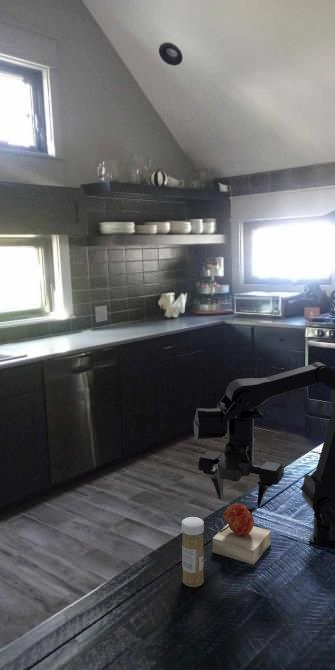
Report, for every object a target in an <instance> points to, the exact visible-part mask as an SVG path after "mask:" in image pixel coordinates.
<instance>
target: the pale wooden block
mask: <svg viewBox="0 0 335 670" xmlns="http://www.w3.org/2000/svg"><path fill="white" fill-rule="evenodd" d="M227 526H229V525H228V523H226V525H225V526H224V527H223V528H222V529H221V530H223V529H225V528H226V527H227ZM271 542H272V530H270V529H266V528H262V527H259V526H256V525H254V526H253V528H252V530H251V532H250V533H249V534H247V535H245V536H242V537H238V536H237V535H236V534H235V533H234V532H233V531H232V530H231V529H230V527H229V528H227V529H226V530H224V531H222V532H221V533H220V531H219V532H217V534H215V535H214V536H213V537H212V553H214V554H217V555H221V556H223V557H228V558H230V559H234V560H236V561H240V562H242V563H243V562H244V563H247V564H249V565H254V566H255V563H257V562H258V560H259V559H261V557H262V555H263V554H264V553H265V551H266V550H267V549H268V548H269V547H270V546H271V545H272V544H271Z"/></svg>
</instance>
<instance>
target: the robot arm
mask: <svg viewBox="0 0 335 670" xmlns="http://www.w3.org/2000/svg"><path fill="white" fill-rule="evenodd" d="M317 384H324V385H325V386H326V387H328V388H330V389H331V393H330V403H331V416H330V419H329V423H328V425H327V426H328V427H327V430H326V434H325V437H324V441H323V443H322V448H321V451H320V455H319V458H318V461H317V465H316V468H315V470H314V471H313V472H312V473H311V474H310V475H309V473H306V474H304V477H303V483H302V486H301V487H300V491H301V492H302V493H301V496H302V498H303V500H304V501H305V503H306V504H307V505H308V507H309V508H310V509H311V510H312V511H313V527H312V528H313V530H312V533H311V535H310V537H309V538H308V543H310V544H314V545H317V546H323V547H326V548H327V547H328V548H330V549H335V371H334V370H333V369H331V367H329V366H327V365H326V364H324V363H322V362H319V361H315V362H313V363H311V364H307V365H305V366H302V367H298V368H295V369H291V370H287V371H284V372H281V373H278V374H273V375H269V376H266V377H261V378H258V377H249V378H248V377H247V378H246V377H245V378H237V379H234V380H232V381H230V382H229V383H228V385H227V387H226V390H225V394H224V395H223V397H222V398H221V399H220V401H219V402H218V403H217V405H216V408H203V407H202V408H201V407H200V408H198V407H197V408H196V409H195V410H196V411H195V415H194V419H193V434H194V437H195V440H196V441H202V440H204V441H205V440H219V439H223V438H224V437H226V434H227V442H226V443H225V447H224V452H223V454H222V453H221V452H217V451H211V450H208V451H206V452H205V453H204V454H203V455H201V456H200V457H199V458H198V460H197V470H198V471H202V474H204V475H207V476H208V477H210V479H211V481H212V484H213V487H214V489H215V491H216V492H215V493H216V494H217V497H218V499H219V500H222V498H223V496H224V480H227V481H232V482H234V483H236V482H239V481H240V480H241V478H243V477H249V476H250V474H255V475H258V479H259V481H258V482H257V485H258V493H257V501H256V504H257V508H260V507H261V505H262V503H263V501H264V498H265V496H266V494H267V491H268V490H269V488H270V487H272V486H273V485H275V486H276V485H278V484H279V483H280V482H281V480H282V478H284V476H285V468H284V466H283V464H282V463H277V462H272V461H266V462H264V464H262V465H259V464H254V462H255V459H256V457H255V455H254V445H255V444H256V439H255V437H254V435H255V434H254V431H255V430H254V429H255V427H254V426H255V425H254V424H255V419H264V415H263V414H262V413H261V412H260V411H259V410H258V408H257V407H258V406H261V405H262V404H264V403H265V402H266V401H267V400H269V399H271V398H273V397H277V396H280V395H283V394H287V393H290V392H293V391H297V390H301V389H304V388H307V387H311V386H314V385H317Z"/></svg>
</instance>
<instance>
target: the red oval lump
mask: <svg viewBox="0 0 335 670" xmlns="http://www.w3.org/2000/svg"><path fill="white" fill-rule="evenodd" d="M256 510H257V508H256V507H252V508H248V507H247V506H246V505H244V504H242V503H239V502H238V503H233V504H230V505H228V507H227V508H226V509H225V511H224V512H223V515H222V517H223V519H224V522H226V524H228V525H229V526H227V527H226V528H225V529H223V528H222V529H223V530H222V529H221V530H219V532H220V533H221V532H222V531H224V530H226V529H227V528H229V527H230V529H231V530H232V531H233V532H234V533H235V534H236V535H237V536H238V537H242V536H245V535H247V534H249V533H250V532H251V530H252V528H253V526H255V519H254V515H253V512H255V511H256Z"/></svg>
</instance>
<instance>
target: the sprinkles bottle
mask: <svg viewBox="0 0 335 670" xmlns="http://www.w3.org/2000/svg"><path fill="white" fill-rule="evenodd" d="M204 523H205V522H204V520H203V519H201V518H199V517H196V516H189V517H185V518H184V519H182V521H181V534H182V543H181V544H182V545H181V547H182V548H181V553H182V554H181V555H182V559H181V560H182V566H181V568H182V579H181V580H182V583H183V585H184V586H186V587H189V588H197V587H200V586H202V585H203V584H204V581H205V579H204V531H205V524H204Z"/></svg>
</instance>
